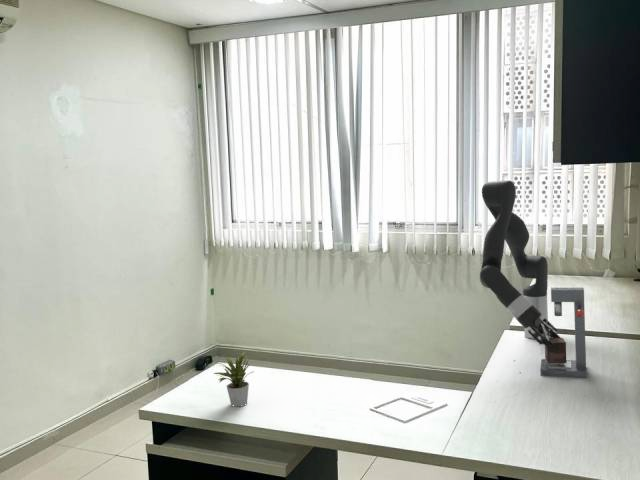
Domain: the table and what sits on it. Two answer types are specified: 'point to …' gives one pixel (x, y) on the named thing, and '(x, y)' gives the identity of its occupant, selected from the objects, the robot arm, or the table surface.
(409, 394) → the photo frame
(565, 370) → the press
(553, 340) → the box
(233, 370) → the house plant
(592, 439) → the table surface
